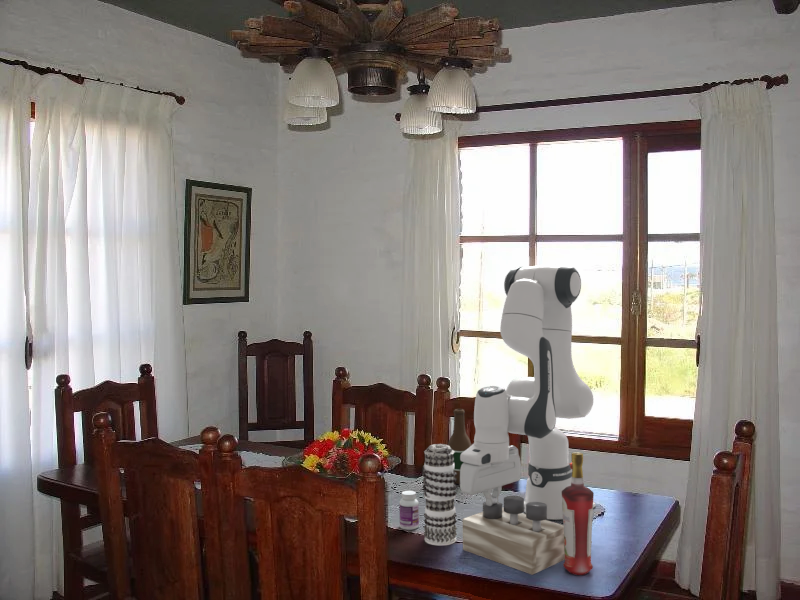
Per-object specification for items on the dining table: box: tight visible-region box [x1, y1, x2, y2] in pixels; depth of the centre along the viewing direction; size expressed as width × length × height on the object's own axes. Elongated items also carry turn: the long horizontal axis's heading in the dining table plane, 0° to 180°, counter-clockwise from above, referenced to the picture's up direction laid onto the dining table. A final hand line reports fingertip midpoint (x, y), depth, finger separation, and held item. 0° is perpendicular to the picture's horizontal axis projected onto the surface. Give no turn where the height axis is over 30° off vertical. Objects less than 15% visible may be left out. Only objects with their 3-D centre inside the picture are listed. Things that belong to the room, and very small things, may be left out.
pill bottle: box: [398, 490, 420, 531], centre depth 213 cm, size 5×5×10 cm
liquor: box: [562, 451, 595, 576], centre depth 181 cm, size 7×7×28 cm
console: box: [461, 506, 565, 576], centre depth 192 cm, size 14×22×8 cm, turn 42°
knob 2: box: [503, 495, 525, 525], centre depth 192 cm, size 5×5×8 cm
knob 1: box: [482, 501, 503, 519], centre depth 197 cm, size 5×5×8 cm
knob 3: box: [525, 502, 548, 532], centre depth 187 cm, size 5×5×8 cm
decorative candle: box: [421, 443, 458, 547], centre depth 203 cm, size 9×9×25 cm
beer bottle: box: [447, 408, 472, 485], centre depth 256 cm, size 8×8×24 cm
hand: (492, 504), depth 197 cm, fingers closed, pressing on knob 1
